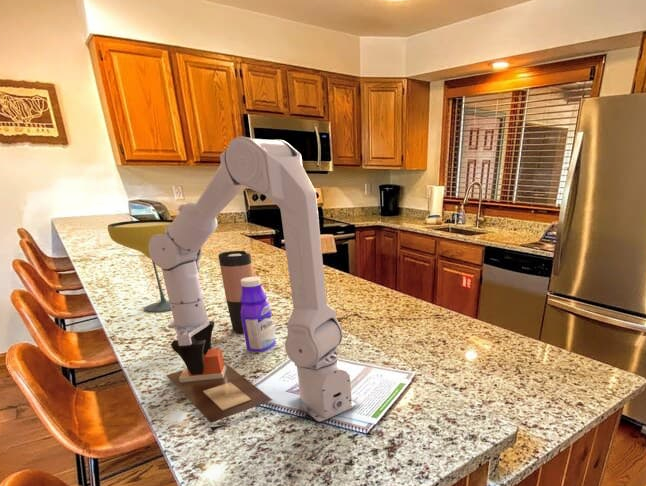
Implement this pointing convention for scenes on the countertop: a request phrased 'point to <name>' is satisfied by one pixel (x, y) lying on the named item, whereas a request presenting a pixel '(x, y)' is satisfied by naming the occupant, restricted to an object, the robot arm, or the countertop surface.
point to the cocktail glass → (141, 246)
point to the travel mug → (235, 282)
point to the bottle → (256, 316)
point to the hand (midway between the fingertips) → (201, 365)
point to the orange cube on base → (207, 367)
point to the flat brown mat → (221, 394)
